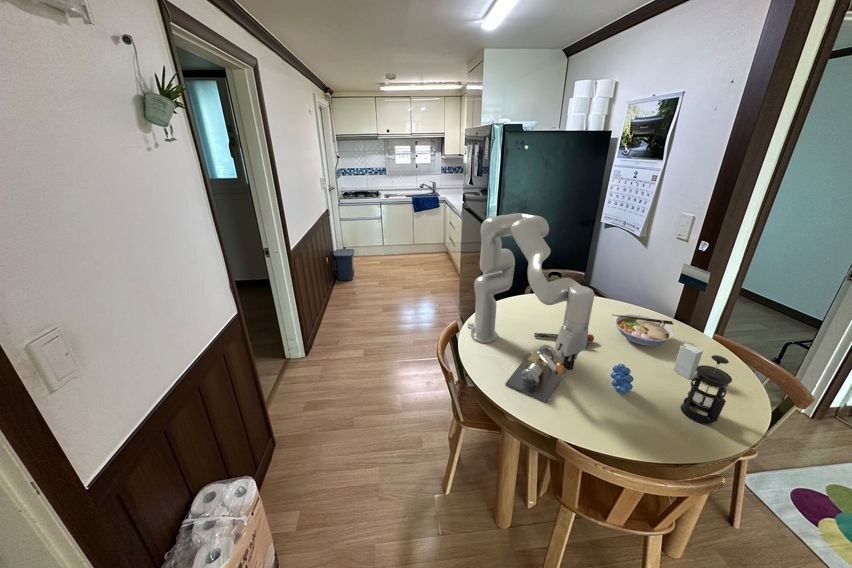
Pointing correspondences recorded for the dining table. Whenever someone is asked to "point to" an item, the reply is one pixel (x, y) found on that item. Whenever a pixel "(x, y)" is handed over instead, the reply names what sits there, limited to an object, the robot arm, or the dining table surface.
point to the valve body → (536, 376)
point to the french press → (704, 399)
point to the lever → (551, 363)
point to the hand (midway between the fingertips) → (567, 368)
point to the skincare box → (687, 360)
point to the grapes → (622, 379)
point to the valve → (590, 337)
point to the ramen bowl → (644, 329)
